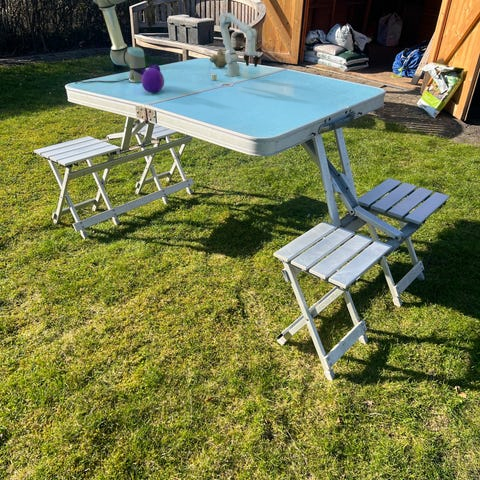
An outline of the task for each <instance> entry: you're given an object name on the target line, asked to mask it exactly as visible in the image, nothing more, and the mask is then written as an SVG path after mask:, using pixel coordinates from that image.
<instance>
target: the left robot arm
mask: <svg viewBox="0 0 480 480" xmlns="http://www.w3.org/2000/svg"><path fill="white" fill-rule="evenodd" d="M126 1H127V0H93V2H94V3H95V4H96V5H98V9H99V10H101V11H102V14H103V17H104V20H105V25H106V28H107V31H108V34H109V39H110V41H111V48H110V52H109V53H110V54H109V56H110V59H111V61H112V63H114V65H117V66H124V67H125V66H128V67H129V76H128V78H124V79H119V80H88V81H82V80H77V81H75V82H74V84H78V83H83V84H88V83H118V82H119V83H120V82H125V81H128V82H129V83H133V84H142V76H143V75H141V74H139V73H137V72H135V71H134V70H147V67H146V59H145V58H146V57H145V52H144V49H143V48H142V47H138V46H129V47H128V44H126V43H125V41H124V37H123V35H122V31H121V26H120V23H119V19H118V15H117V12H116V9H115V8H116V6H117V5H118V4H121V3H124V2H126ZM143 1H144V2H146V3H145V8H146V9H145V11H146V13H145V15H146V16H145V18H147V27H148V28H153V26H156V15H157V14H156V12H155V8H154V7H155V6H154V2H155V0H143Z"/></svg>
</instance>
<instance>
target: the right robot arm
mask: <svg viewBox="0 0 480 480" xmlns="http://www.w3.org/2000/svg"><path fill="white" fill-rule="evenodd" d="M218 21H219V29H220V34H221V36H222V37H221V38H222V40H223V44H224V48H225V52H226V53H225V52H224V53H225V60H226V62H227V65H226V66H227V74H225V76H226V77H236V76H240V75H241V73H240V64H239V63H238V61H239V60H240V59H239V55H238V53H237V51H236V50H235V49H234V46H233V43H232V39H231V36H230V32H229V26H230V24H231V23H233V24H234V25H235V26H237V27H238V28H239V31H241V32H242V33H243V34H244V35H245V37H246V40H247V52H246V51H245V52H242V58H243V59H244V62H245V66H246V67H249V66H250V57H253V62H254V63H253V65H254V68H256V67H258V63H259V60H260V58H261V53H257V52H256V37H257V36H258V31H257V29H256V28H252V27H251V26H249V24H247V23H246V22H241V20H239V19H238V18H237V17H236V16H235V14H233V13H232V12H225V13H223V12H222V13H220V15H219V16H218Z"/></svg>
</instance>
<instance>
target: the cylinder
mask: <svg viewBox="0 0 480 480" xmlns="http://www.w3.org/2000/svg"><path fill="white" fill-rule="evenodd" d="M217 80H218V79H217V73H211V81H212V82H213V81H217Z"/></svg>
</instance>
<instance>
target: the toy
mask: <svg viewBox="0 0 480 480" xmlns="http://www.w3.org/2000/svg"><path fill="white" fill-rule="evenodd" d="M134 71H135V72H137V73H139V74H141V75H143V76H142V83H141V85H142V87H143V89H144V90H145V91H146V92H147V93H151V94H157V93H159V92H160V91H161V90H162V89H163V87H164V86H165V78H164V75H163V72H161V67H160V66H159V65H158V64H153V65H151V66H149V67H148V68H146V70H134Z"/></svg>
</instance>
